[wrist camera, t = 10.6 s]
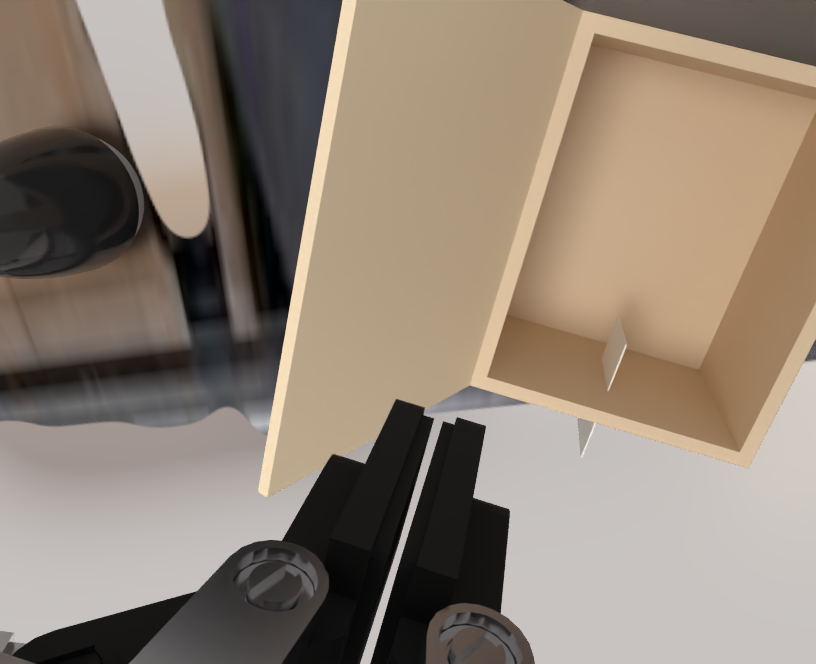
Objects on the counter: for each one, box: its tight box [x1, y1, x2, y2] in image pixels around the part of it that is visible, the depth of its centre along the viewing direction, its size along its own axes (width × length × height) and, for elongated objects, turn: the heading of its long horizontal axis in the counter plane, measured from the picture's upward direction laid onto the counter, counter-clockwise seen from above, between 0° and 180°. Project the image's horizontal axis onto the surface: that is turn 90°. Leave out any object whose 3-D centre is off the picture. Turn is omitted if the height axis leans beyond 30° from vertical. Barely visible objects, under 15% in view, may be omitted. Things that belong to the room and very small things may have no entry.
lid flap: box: [258, 0, 583, 498], centre depth 29 cm, size 16×20×1 cm
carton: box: [470, 10, 816, 468], centre depth 41 cm, size 16×24×12 cm, turn 167°
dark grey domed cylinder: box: [0, 127, 144, 279], centre depth 45 cm, size 10×10×15 cm
